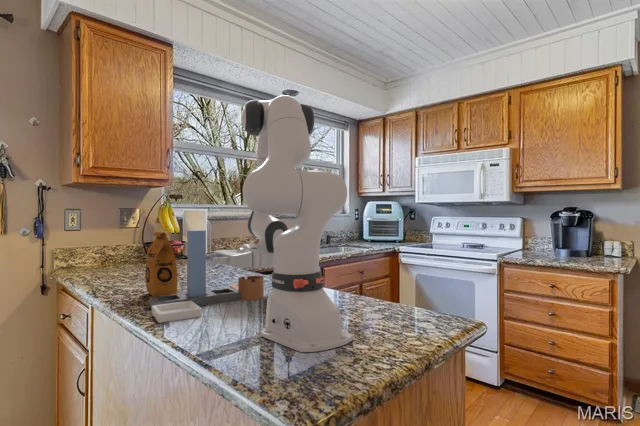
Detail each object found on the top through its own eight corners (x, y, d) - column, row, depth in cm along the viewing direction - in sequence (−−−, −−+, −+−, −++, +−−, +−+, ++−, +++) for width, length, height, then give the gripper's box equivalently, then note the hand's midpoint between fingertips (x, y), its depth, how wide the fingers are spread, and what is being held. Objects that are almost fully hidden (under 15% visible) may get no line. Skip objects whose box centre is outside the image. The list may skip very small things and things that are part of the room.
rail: (240, 299, 119) (240, 292, 119) (154, 311, 105) (154, 303, 105) (230, 294, 127) (230, 287, 127) (149, 305, 112) (149, 297, 112)
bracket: (267, 299, 121) (267, 278, 121) (242, 302, 117) (242, 280, 117) (249, 289, 137) (249, 270, 137) (227, 291, 132) (227, 272, 132)
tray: (201, 316, 100) (201, 308, 100) (158, 322, 94) (158, 314, 94) (191, 307, 109) (191, 300, 109) (151, 313, 103) (151, 305, 103)
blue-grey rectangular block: (205, 302, 115) (205, 230, 115) (190, 304, 112) (190, 230, 112) (201, 300, 119) (201, 229, 119) (187, 301, 116) (187, 230, 116)
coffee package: (148, 300, 119) (148, 232, 119) (143, 293, 129) (143, 231, 129) (180, 296, 124) (180, 232, 124) (173, 289, 135) (173, 230, 135)
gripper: (237, 245, 134) (199, 247, 126) (260, 249, 117) (217, 252, 109) (237, 262, 134) (199, 265, 126) (260, 269, 117) (218, 273, 109)
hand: (208, 259), depth 118 cm, fingers open, 8 cm apart
